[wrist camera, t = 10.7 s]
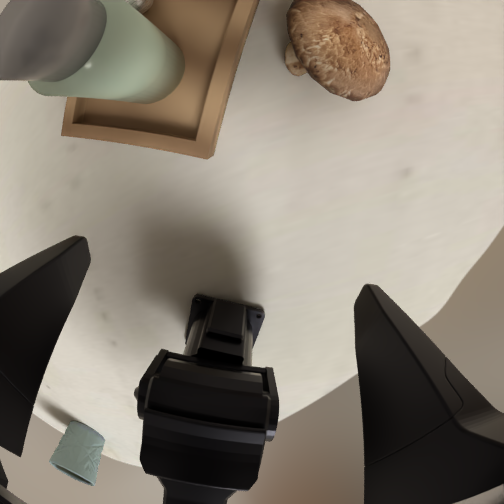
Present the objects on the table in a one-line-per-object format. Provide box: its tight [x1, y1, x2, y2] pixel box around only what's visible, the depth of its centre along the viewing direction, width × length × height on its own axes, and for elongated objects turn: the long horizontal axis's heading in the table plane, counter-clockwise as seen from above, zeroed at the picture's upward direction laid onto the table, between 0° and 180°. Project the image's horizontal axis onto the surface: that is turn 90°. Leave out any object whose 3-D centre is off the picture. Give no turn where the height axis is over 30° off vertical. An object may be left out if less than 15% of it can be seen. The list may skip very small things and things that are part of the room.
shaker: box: [0, 0, 185, 104], centre depth 10 cm, size 5×5×13 cm
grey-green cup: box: [49, 421, 105, 486], centre depth 37 cm, size 10×10×12 cm
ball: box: [124, 0, 154, 14], centre depth 12 cm, size 3×3×3 cm
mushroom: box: [285, 0, 390, 101], centre depth 14 cm, size 8×8×6 cm
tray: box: [61, 0, 260, 159], centre depth 15 cm, size 14×12×2 cm
